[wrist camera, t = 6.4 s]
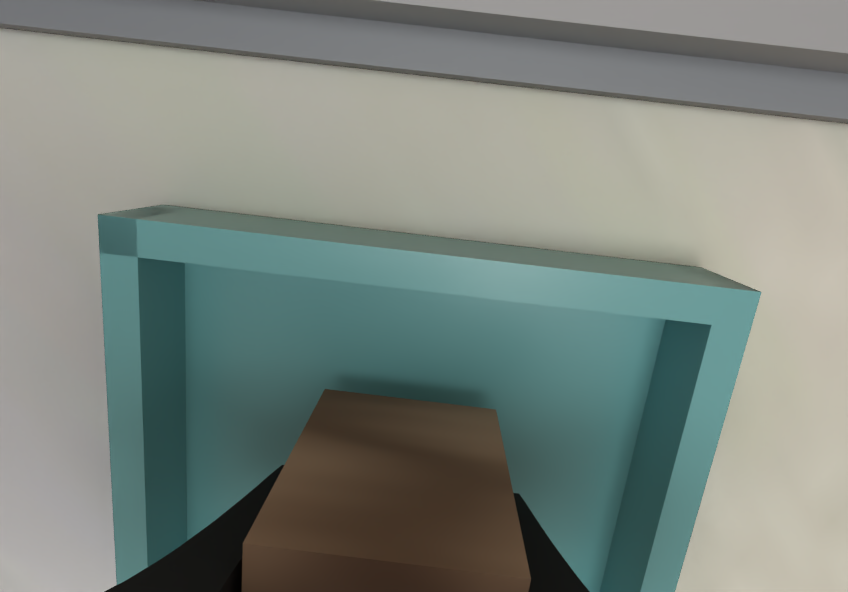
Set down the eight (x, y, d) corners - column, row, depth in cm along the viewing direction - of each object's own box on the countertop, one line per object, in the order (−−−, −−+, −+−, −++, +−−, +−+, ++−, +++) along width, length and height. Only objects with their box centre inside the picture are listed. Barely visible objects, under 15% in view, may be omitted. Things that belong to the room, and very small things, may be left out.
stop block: (314, 533, 13) (237, 755, 8) (324, 389, 12) (242, 542, 7) (472, 553, 13) (488, 787, 8) (496, 409, 12) (531, 579, 7)
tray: (169, 581, 16) (120, 657, 13) (163, 204, 13) (97, 214, 11) (607, 636, 16) (637, 721, 13) (701, 267, 13) (760, 292, 10)
